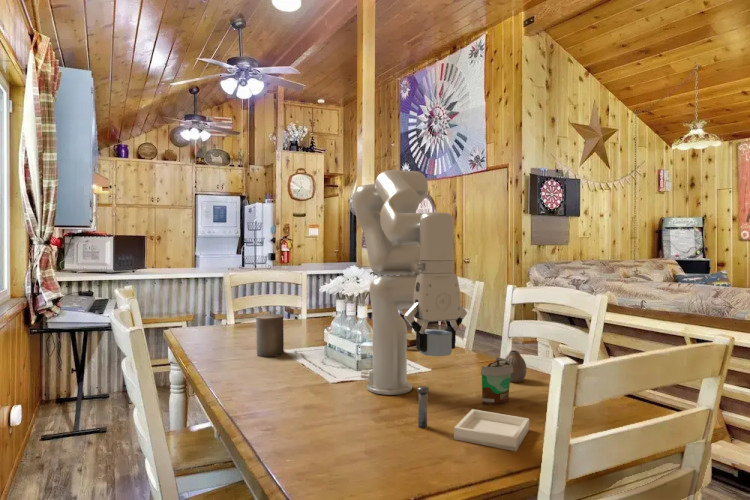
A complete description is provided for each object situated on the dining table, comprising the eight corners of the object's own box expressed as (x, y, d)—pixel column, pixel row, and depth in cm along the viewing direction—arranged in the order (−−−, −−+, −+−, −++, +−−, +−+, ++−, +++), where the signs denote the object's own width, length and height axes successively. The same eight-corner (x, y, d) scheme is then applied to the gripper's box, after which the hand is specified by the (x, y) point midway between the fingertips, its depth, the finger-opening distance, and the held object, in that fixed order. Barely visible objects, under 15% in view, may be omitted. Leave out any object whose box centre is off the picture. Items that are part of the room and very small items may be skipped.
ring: (431, 357, 110) (431, 336, 110) (412, 350, 117) (412, 330, 117) (457, 354, 113) (457, 333, 113) (437, 347, 120) (437, 328, 120)
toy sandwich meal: (413, 353, 188) (413, 340, 188) (391, 346, 199) (391, 334, 199) (439, 349, 195) (439, 337, 195) (416, 343, 206) (416, 331, 206)
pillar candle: (289, 353, 186) (289, 311, 186) (270, 358, 178) (270, 315, 178) (269, 350, 192) (269, 309, 191) (250, 355, 183) (249, 313, 183)
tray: (453, 439, 109) (453, 427, 109) (472, 419, 120) (472, 409, 120) (516, 451, 103) (516, 439, 103) (529, 429, 114) (529, 418, 114)
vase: (527, 384, 149) (527, 354, 148) (502, 383, 150) (503, 353, 150) (525, 378, 155) (525, 349, 155) (501, 376, 157) (502, 348, 157)
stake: (415, 427, 115) (415, 388, 115) (419, 423, 118) (419, 385, 117) (425, 429, 114) (426, 390, 114) (430, 425, 116) (430, 387, 116)
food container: (504, 410, 127) (504, 370, 127) (480, 405, 130) (480, 366, 130) (518, 397, 137) (519, 359, 137) (496, 393, 141) (496, 356, 140)
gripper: (411, 270, 107) (410, 356, 107) (478, 268, 114) (478, 348, 115) (393, 268, 113) (393, 349, 114) (458, 266, 121) (458, 342, 121)
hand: (436, 348), depth 114 cm, fingers closed on ring, 6 cm apart
